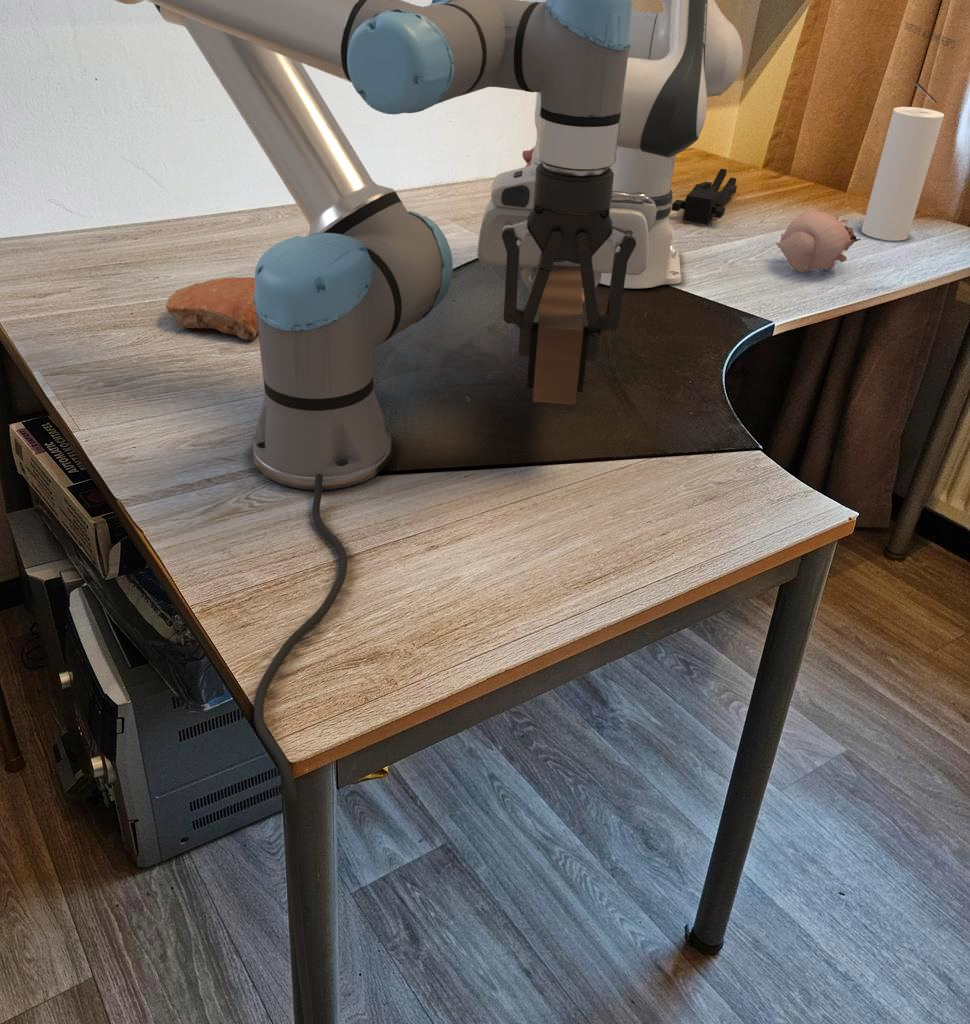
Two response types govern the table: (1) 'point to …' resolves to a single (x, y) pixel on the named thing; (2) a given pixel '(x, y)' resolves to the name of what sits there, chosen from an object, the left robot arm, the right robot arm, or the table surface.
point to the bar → (559, 337)
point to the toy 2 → (816, 241)
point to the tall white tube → (902, 168)
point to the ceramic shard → (217, 306)
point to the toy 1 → (706, 200)
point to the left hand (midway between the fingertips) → (554, 384)
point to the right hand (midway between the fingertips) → (557, 302)
